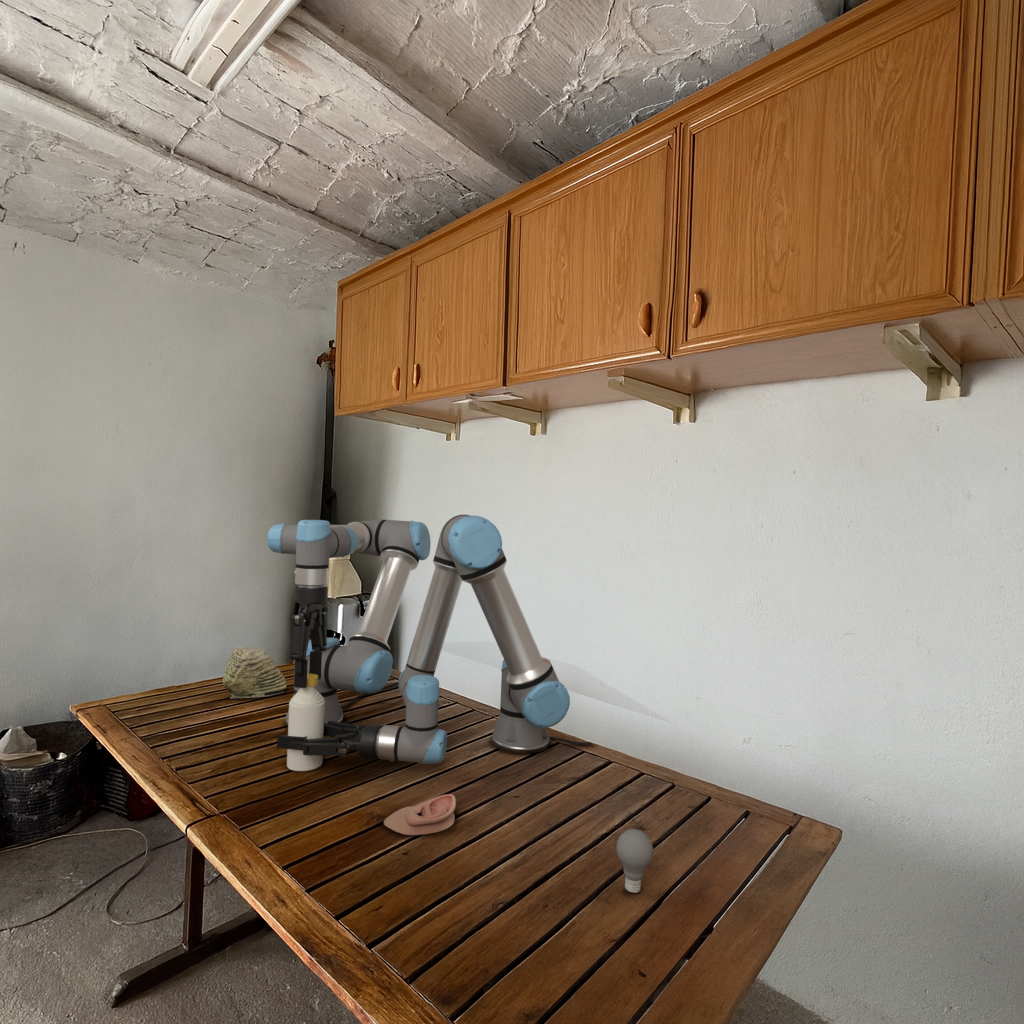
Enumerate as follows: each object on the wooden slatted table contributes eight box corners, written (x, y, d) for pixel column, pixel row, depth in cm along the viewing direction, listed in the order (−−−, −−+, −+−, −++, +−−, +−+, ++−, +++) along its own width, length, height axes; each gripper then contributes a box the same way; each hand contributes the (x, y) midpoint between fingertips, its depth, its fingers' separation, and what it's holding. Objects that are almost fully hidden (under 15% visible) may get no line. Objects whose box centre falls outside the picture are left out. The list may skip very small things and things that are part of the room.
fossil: (218, 695, 195) (220, 647, 195) (278, 685, 208) (279, 640, 207) (228, 703, 189) (230, 653, 188) (289, 692, 201) (290, 645, 201)
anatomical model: (377, 810, 121) (400, 784, 132) (376, 830, 121) (399, 803, 132) (444, 820, 118) (461, 792, 129) (443, 841, 118) (460, 812, 129)
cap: (313, 680, 152) (313, 672, 152) (321, 684, 149) (321, 677, 149) (294, 683, 150) (294, 675, 149) (302, 688, 146) (302, 680, 146)
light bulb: (610, 879, 108) (613, 822, 108) (644, 879, 109) (647, 822, 109) (619, 902, 102) (622, 840, 102) (655, 901, 103) (658, 840, 103)
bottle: (279, 766, 148) (282, 680, 147) (303, 754, 155) (306, 672, 154) (306, 773, 144) (309, 686, 144) (329, 761, 152) (332, 677, 151)
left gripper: (315, 579, 159) (312, 670, 160) (275, 590, 140) (271, 693, 140) (343, 581, 158) (340, 673, 158) (306, 592, 139) (303, 696, 139)
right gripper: (365, 777, 138) (264, 768, 140) (391, 741, 158) (304, 734, 160) (366, 743, 137) (265, 735, 139) (393, 711, 158) (305, 704, 160)
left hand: (307, 682), depth 149 cm, fingers open, 7 cm apart
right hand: (286, 734), depth 150 cm, fingers closed on bottle, 8 cm apart
